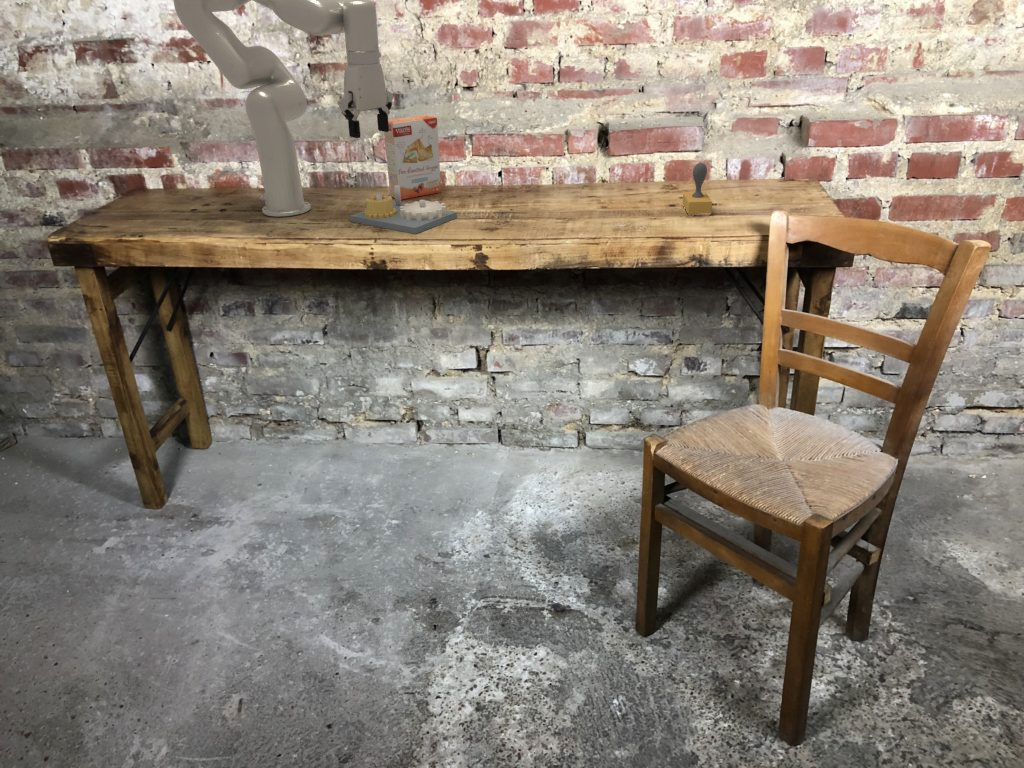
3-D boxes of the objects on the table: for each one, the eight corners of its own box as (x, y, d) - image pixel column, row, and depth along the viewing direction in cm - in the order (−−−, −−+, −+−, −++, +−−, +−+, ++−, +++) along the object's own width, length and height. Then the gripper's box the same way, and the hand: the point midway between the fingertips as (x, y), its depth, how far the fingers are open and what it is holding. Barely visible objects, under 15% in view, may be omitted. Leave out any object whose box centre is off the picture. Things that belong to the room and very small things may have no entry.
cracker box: (400, 201, 210) (392, 122, 201) (389, 197, 215) (381, 120, 205) (443, 192, 218) (437, 116, 208) (432, 188, 222) (426, 113, 212)
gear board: (350, 221, 194) (347, 196, 191) (393, 206, 205) (390, 182, 202) (415, 234, 183) (413, 207, 180) (457, 217, 194) (455, 192, 191)
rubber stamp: (711, 216, 189) (716, 167, 183) (687, 216, 189) (691, 167, 184) (704, 205, 198) (708, 158, 192) (682, 205, 198) (685, 159, 192)
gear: (358, 215, 193) (356, 200, 191) (380, 208, 199) (378, 193, 197) (381, 220, 189) (379, 204, 187) (403, 212, 194) (401, 196, 193)
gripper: (378, 54, 186) (383, 127, 195) (324, 60, 174) (332, 137, 182) (400, 56, 182) (405, 130, 191) (347, 63, 170) (354, 141, 178)
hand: (369, 134), depth 186 cm, fingers open, 9 cm apart
